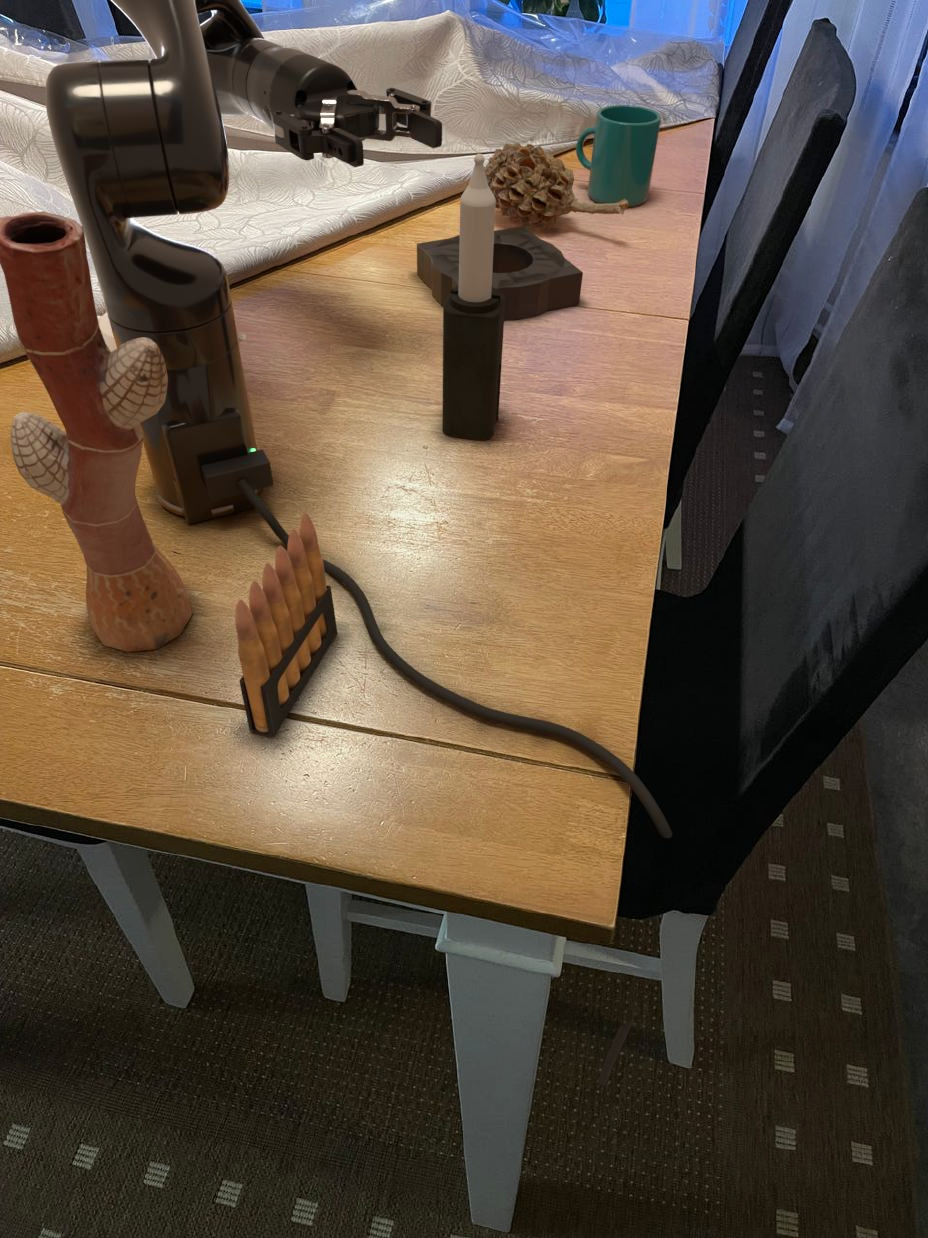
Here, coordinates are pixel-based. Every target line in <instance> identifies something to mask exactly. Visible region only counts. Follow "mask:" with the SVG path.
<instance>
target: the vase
mask: <svg viewBox="0 0 928 1238" xmlns="http://www.w3.org/2000/svg"><path fill="white" fill-rule="evenodd" d="M88 260H89V259H88V253H87V242H86V238H85V235H84V231H83V227H82V225H81V224H80V223H79V222H77V221H76V220H75V219H72V218H69V217H66V216H63V215H60V214H55V213H51V212H48V211H47V212H46V211H30V212H22V213H20V214H18V215H5V216H1V217H0V267H1V269H2V272H3V276H4V280H5V285H6V288H7V295H8V298H9V304H10V308H11V312H12V313H11V314H12V319H13V324H14V327H15V330H16V334H17V337H18V341H19V344H20V346H21V348H22V349H23V351H24V353H25V354H26V356H27V358H28V360H29V362H30V363H31V365H32V366H33V368H34V370H35V372H36V374H37V375H38V377H39V379H40V381H41V382H42V385H43V386H44V388H45V390H46V392H47V394H48V396H49V398H50V401H51V403H52V405H53V407H54V409H55V411H56V413H57V416H58V417H59V419H60V421H61V423H62V426H63V427H64V430H65V431H64V430H63V429H61V428H60V427H59V426H58V425H56V424H54V423H53V422H51V421H50V420H48V419H47V418H45V417H43V416H42V415H40V414H36V413H33V412H29V411H27V412H25V411H21V412H19V413H16V415H14V417H13V419H12V423H11V427H10V448H11V455H12V458H13V461H14V464H15V466H16V468H17V471H18V473H19V475H20V476H21V477H22V478H23V480H24V481H25V482H26V484H28V486H29V487H30V488H31V489H34V490H35V491H38V492H39V493H41V494H43V495H46V496H47V497H49V498H51V499H52V500H53V501H55V502H57V503H58V504H59V505H60V506H61V511H62V514H63V516H64V518H65V521H66V523H67V525H68V527H69V528H70V530H71V532H72V534H73V536H74V537H75V539H76V541H77V544H78V546H79V548H80V550H81V553H82V555H83V558H84V563H85V565H86V583H85V584H86V585H85V606H86V612H87V617H88V619H89V620H88V621H89V623H90V626H91V628H92V630H93V632H94V633H95V634H96V636H97V637H98V639H99V641H100V642H101V644H102V645H103V646H105V647H109V648H112V649H117V650H120V651H123V652H127V653H133V652H142V651H152V650H157V649H159V648H161V647H163V646H164V645H166V644H167V643H170V642H171V641H172V640H174V639H176V638H178V637H179V636H180V635H181V634H182V632H183V630H184V629H185V627H186V626H187V623H188V622H189V621H190V618H191V617H192V615H193V612H192V608H191V602H190V599H189V594H188V592H187V589H186V586H185V584H184V581H183V580H182V578H181V576H180V574H179V572H178V571H177V570H176V568H175V567H174V565H173V564H172V563H171V561H170V560H169V559H168V558H167V557H166V556H165V555H164V554H163V553H162V552H161V550H160V549H159V548H158V547H157V545H156V544H155V543H154V542H153V539H152V537H151V534H150V532H149V529H148V527H147V525H146V522H145V520H144V517H143V515H142V512H141V511H142V510H141V509H140V505H139V503H138V498H137V495H136V482H137V476H138V472H139V466H140V462H141V458H142V451H143V445H144V444H143V436H144V434H143V422H142V421H144V420H146V419H148V418H150V417H151V416H153V415H155V414H157V412H158V411H159V410H160V408H161V407H162V405H163V404H164V403H165V398H166V393H167V384H168V376H167V370H166V365H165V360H164V358H163V355H162V353H161V351H160V349H159V347H158V346H157V344H156V343H155V342H154V341H152V340H151V339H149V338H145V337H142V338H137V339H133V340H130V341H127V342H125V343H124V344H122V345H120V346H119V347H118V348H117V349H115V350H114V351H112V352H111V351H110V350H109V348H108V346H107V345H106V343H105V341H104V338H103V335H102V333H101V330H100V327H99V323H98V318H97V316H98V313H97V309H96V304H95V297H94V291H93V285H92V278H91V271H90V265H89V261H88Z"/></svg>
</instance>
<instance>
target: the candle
mask: <svg viewBox="0 0 928 1238" xmlns="http://www.w3.org/2000/svg"><path fill="white" fill-rule="evenodd" d="M473 160H474V167H473V170H472V173H471V175H470V180H469V182H468V185H467V187H466V188H465V189H464V191H463V193H462V194H461V196H460V200H459V235H460V241H459V286H456V287H455V288H453V289H452V290H451V293H450V294H449V296H448V298H447V301H446V303H445V305H444V306H443V308H442V312H443V313H442V421H441V422H442V425H441V427H442V432H443V434H444V435H446V436H447V437H452V438H458V439H465V440H467V439H468V440H473V441H488V440H490V439H492V438H493V437H494V432H495V430H494V429H495V425H496V423H497V422H498V421H499V413H500V397H501V396H500V395H501V380H502V379H501V377H502V361H503V345H504V328H505V320H504V313H505V296H504V295H503V294H501V293H500V292H499V291H498V290H497V289H495V288H493V287H492V269H493V248H494V231H495V224H496V208H495V205H496V199H495V197H494V195H493V193H492V191H491V190H490V188H489V186H488V182H487V178H486V174H485V169H484V167H485V166H484V164H485V160H486V159H485V156H484V155H483V154H482V153H476V154H475V156H474V158H473Z"/></svg>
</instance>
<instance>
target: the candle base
mask: <svg viewBox="0 0 928 1238" xmlns="http://www.w3.org/2000/svg"><path fill="white" fill-rule="evenodd" d="M459 241H460V234H457V235H455V236H451V237H448V238H443V239H436V240H430V241H425V242H418V243H416V276H417V277H418V278H419V279H420V280H421V281H422V282H423V283H424V284H425V285H426V286H427V287H428V288H429V289H430V290H431V294H432V297H433V298H434V300H436V301H437V302H438V304H439V305H441V306H443V307H444V305H445V303H446V301H447V298H448V296H449V294H450V293H451V290H452V289H453V288H455V287H456V286H459ZM583 275H584V272H583V271H582V270H580V269H579V268H578V267H577V266H575V264H573V263H572V262H571V261H569V260H568V259H567V258H566V257H565V256H564V254H563V252H562V251H561V250H560V248H558V247H556V246H555V245H554V244H552V243H550V242H548V241H546V240H543V239H542V238H540V237H539V236H537V235H536V234H535V233H533V231H532V230H530V229H529V228H527V227H526V226H524V225H521V226H515V227H509V228H503V229H496V230H494V248H493V269H492V287H493V288H495V289H497V290H498V291H499V292H500V293H501V294H503V295H504V296H505V313H504V321H514V320H515V321H518V320H522V319H528V318H533V317H537V316H539V315H541V314H544V313H546V312H549V311H554V310H559V309H563V308H569V307H573V306H574V307H575V306H578V305H580V300H581V292H582V285H583Z"/></svg>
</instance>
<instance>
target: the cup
mask: <svg viewBox="0 0 928 1238" xmlns="http://www.w3.org/2000/svg"><path fill="white" fill-rule="evenodd" d="M661 122H662V116H661V114H660V113H659V112H658V111H655V110H654V109H652V108H648V107H645V106H639V105H630V104H615V105H608V106H604V107H601V108H599V109H598V110H597V111H596V117H595V125H592V126H590V127H587V128H586V129H584V130H583V131H582V132H581V133H580V134H579V136H578V138H577V140H576V145H575V152H576V157H577V159H578V161H579V163H580V164H581V166H582V167H584V168H585V169H586V170H588V171H589V178H588V186H587V194H588V196H589V197H590V199H591V200H592V201H594V202H595V203H597V204H612V203H617V202H620V201H622V200H623V199H625V200H628V208H631V207H635V206H639V205H641V204H643V203H645V202H646V201H647V200H648V198H649V196H650V195H649V194H650V189H651V183H652V177H653V172H654V171H653V170H654V166H655V165H654V164H655V158H656V153H657V145H658V139H659V134H660V129H661V128H660V127H661ZM590 135H593V142H592V151H591V159H588V158H587V157H586V155H585V151H584V143H585V141H586V139H587V138H588V137H589V136H590Z"/></svg>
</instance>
